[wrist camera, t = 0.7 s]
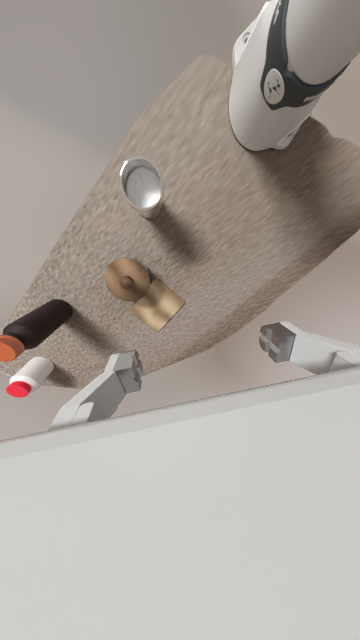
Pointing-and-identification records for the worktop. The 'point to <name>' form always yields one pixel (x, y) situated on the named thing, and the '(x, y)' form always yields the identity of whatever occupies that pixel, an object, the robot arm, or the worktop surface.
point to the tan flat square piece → (157, 305)
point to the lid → (127, 279)
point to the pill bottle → (30, 377)
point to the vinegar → (33, 328)
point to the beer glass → (142, 186)
